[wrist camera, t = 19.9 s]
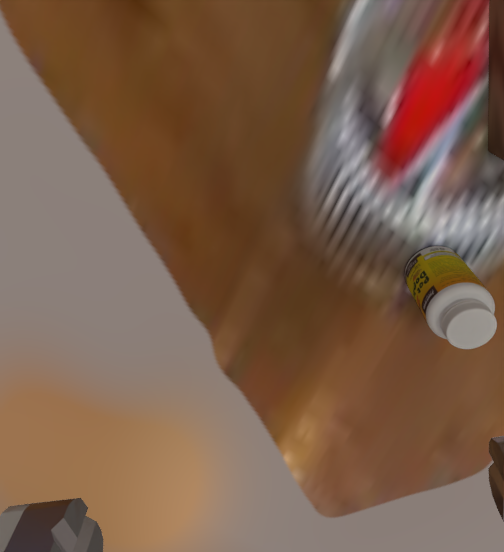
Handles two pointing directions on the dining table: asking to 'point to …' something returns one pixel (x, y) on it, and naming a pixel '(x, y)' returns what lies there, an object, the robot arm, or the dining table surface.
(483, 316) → the supplement bottle
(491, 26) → the tower base
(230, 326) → the dining table surface
